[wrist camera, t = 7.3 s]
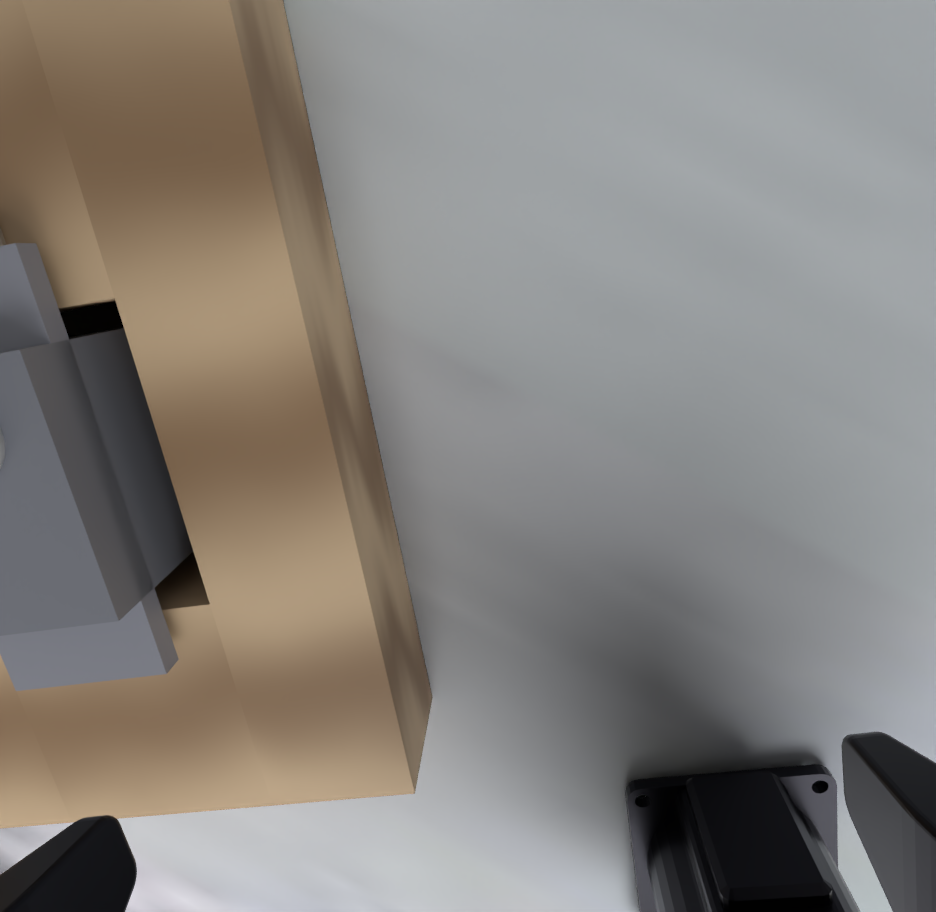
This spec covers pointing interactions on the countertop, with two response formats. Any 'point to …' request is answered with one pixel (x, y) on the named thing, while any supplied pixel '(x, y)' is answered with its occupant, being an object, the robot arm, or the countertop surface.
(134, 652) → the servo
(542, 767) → the countertop surface
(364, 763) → the chassis board
